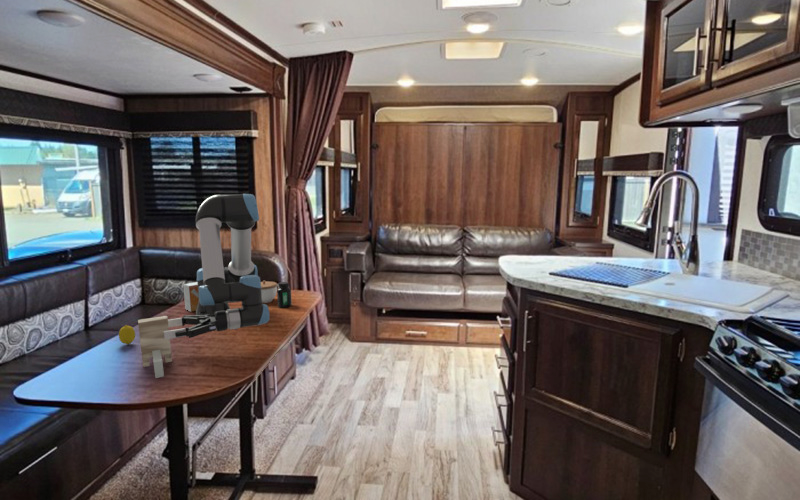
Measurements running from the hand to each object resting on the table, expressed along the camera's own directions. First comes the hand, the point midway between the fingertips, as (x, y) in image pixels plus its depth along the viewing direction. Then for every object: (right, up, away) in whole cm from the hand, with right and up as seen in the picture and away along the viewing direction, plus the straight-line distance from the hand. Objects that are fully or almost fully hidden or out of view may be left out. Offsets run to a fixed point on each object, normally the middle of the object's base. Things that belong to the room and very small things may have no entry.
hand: (163, 329), depth 161 cm
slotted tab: (-2, -12, +1) cm, 12 cm away
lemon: (-23, -9, +18) cm, 31 cm away
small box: (-18, -1, +65) cm, 67 cm away
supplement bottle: (+26, 0, +68) cm, 73 cm away
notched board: (-2, -12, +1) cm, 12 cm away
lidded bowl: (+13, +1, +78) cm, 79 cm away
